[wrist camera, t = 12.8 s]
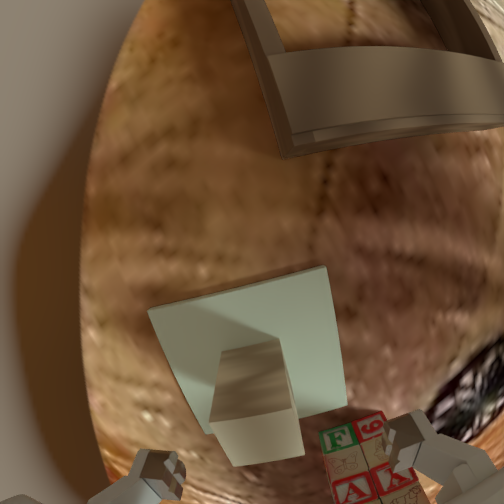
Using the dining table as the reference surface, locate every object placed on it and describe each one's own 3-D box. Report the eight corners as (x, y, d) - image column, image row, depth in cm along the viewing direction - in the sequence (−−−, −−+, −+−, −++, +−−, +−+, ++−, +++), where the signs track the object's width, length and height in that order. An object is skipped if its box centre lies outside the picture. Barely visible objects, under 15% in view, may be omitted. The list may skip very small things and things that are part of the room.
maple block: (279, 338, 18) (292, 408, 11) (291, 383, 19) (305, 454, 12) (221, 351, 18) (208, 422, 12) (238, 394, 19) (233, 466, 12)
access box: (404, -32, 12) (426, -60, 7) (483, 130, 16) (527, 122, 11) (216, -33, 13) (209, -75, 8) (282, 159, 17) (295, 144, 11)
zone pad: (324, 264, 18) (326, 267, 17) (345, 400, 20) (347, 405, 20) (149, 307, 19) (147, 311, 18) (206, 429, 21) (205, 434, 20)
